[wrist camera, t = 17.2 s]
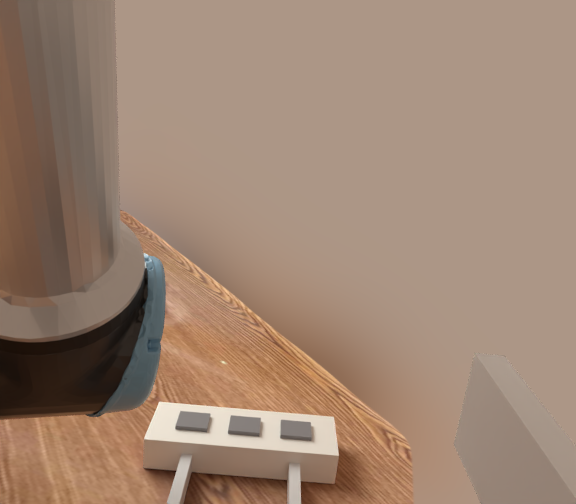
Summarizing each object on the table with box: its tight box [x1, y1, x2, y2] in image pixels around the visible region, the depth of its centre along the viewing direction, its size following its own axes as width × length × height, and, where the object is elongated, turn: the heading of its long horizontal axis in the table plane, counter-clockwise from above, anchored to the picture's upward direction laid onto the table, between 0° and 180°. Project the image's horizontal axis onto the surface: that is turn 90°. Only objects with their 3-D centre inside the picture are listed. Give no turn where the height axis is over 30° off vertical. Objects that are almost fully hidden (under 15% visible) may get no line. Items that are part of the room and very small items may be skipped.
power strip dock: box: [143, 402, 339, 504], centre depth 47 cm, size 18×16×4 cm
